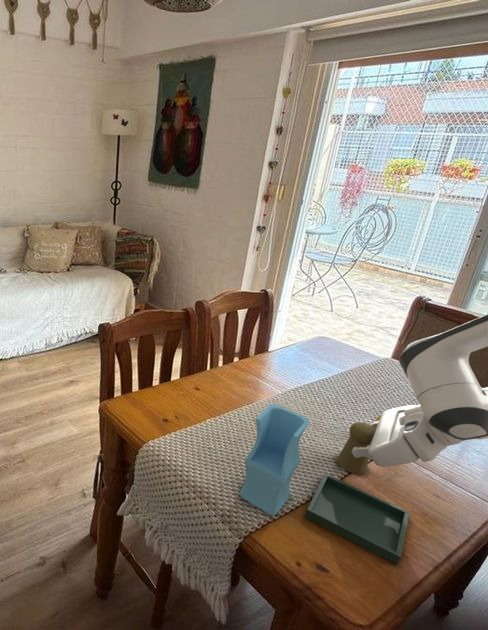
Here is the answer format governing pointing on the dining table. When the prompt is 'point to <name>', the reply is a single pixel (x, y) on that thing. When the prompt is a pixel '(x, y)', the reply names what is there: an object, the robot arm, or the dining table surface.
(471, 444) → the dining table surface
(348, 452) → the pepper mill
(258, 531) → the dining table surface
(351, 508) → the spice tray
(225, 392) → the dining table surface
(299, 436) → the blue toy chair
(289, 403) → the dining table surface
